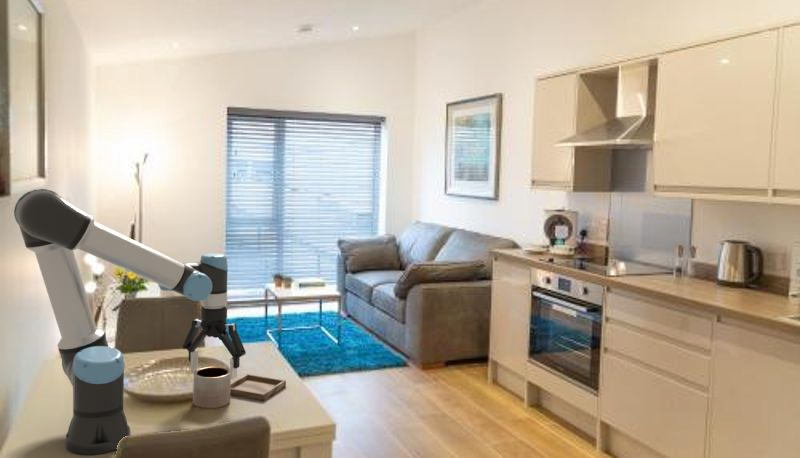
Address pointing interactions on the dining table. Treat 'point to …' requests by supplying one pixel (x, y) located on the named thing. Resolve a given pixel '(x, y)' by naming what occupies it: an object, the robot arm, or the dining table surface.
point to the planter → (211, 387)
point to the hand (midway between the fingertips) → (213, 375)
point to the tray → (256, 387)
